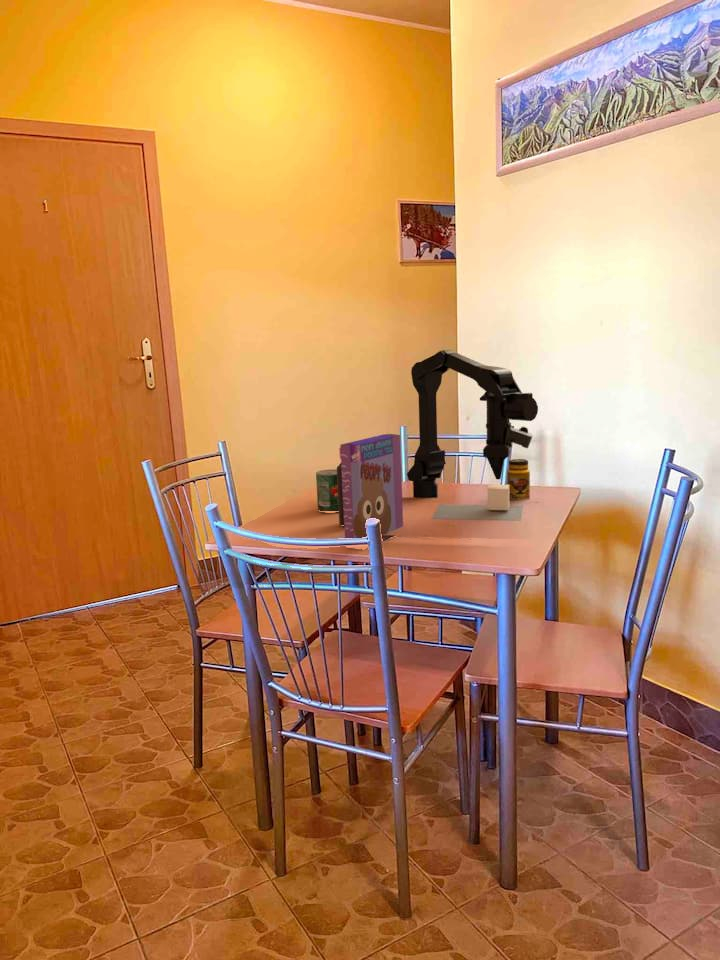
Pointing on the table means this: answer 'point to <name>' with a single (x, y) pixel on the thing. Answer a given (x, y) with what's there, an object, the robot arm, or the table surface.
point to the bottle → (340, 493)
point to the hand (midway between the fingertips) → (498, 479)
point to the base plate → (477, 512)
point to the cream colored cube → (498, 497)
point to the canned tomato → (327, 490)
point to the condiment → (518, 479)
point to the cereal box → (372, 484)
